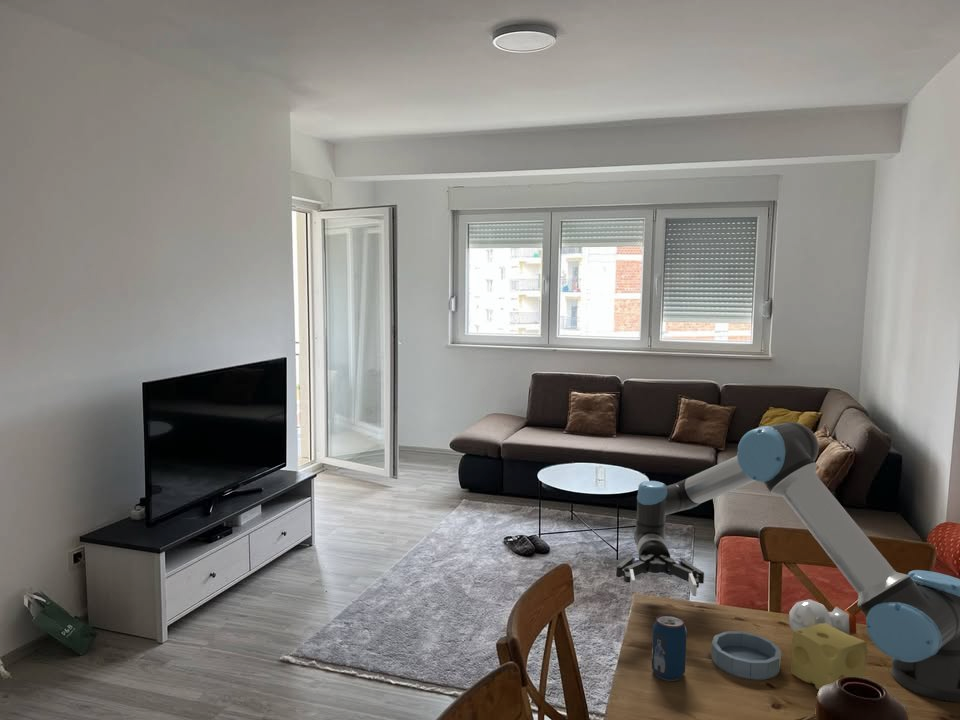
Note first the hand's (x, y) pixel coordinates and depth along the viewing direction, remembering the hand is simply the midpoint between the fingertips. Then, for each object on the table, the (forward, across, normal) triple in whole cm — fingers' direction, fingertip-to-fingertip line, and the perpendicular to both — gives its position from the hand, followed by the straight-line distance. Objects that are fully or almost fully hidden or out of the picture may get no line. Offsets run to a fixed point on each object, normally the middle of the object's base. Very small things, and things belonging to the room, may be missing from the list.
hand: (663, 588), depth 161 cm
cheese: (+7, -33, -15) cm, 37 cm away
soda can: (+10, 0, -15) cm, 18 cm away
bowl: (+3, -18, -15) cm, 23 cm away
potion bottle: (-12, -38, -15) cm, 43 cm away
